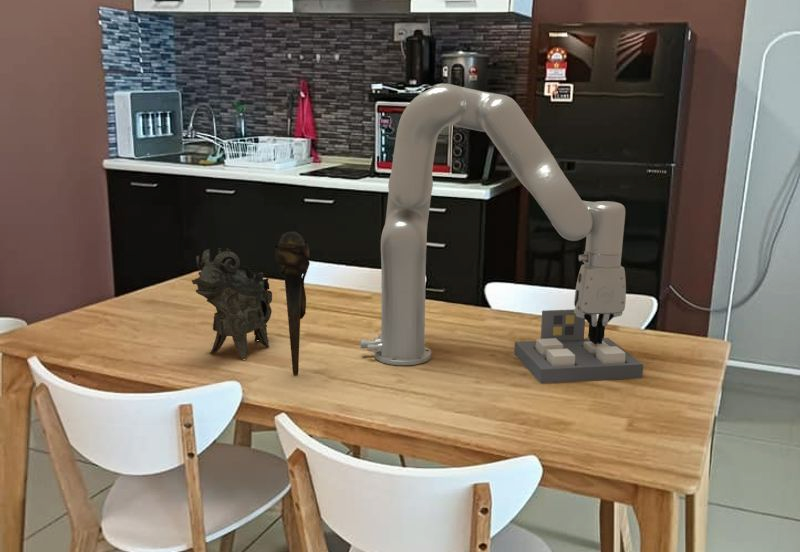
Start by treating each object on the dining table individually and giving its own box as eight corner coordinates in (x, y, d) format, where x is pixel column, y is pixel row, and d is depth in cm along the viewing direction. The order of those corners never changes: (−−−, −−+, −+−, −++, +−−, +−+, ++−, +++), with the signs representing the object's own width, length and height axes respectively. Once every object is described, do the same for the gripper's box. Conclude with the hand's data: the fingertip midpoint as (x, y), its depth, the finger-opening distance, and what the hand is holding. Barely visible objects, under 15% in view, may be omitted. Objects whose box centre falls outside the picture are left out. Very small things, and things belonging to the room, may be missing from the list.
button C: (542, 356, 177) (542, 345, 176) (535, 349, 181) (536, 339, 181) (562, 355, 178) (563, 344, 177) (555, 348, 182) (555, 338, 182)
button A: (553, 367, 170) (554, 356, 170) (546, 360, 175) (546, 349, 174) (574, 366, 171) (575, 355, 170) (566, 359, 175) (567, 348, 175)
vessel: (181, 365, 176) (177, 251, 173) (250, 340, 199) (247, 239, 195) (224, 371, 172) (220, 254, 168) (289, 345, 194) (287, 241, 190)
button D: (590, 359, 179) (591, 348, 179) (583, 352, 183) (583, 341, 183) (610, 358, 180) (611, 347, 179) (602, 351, 184) (603, 341, 184)
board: (540, 383, 169) (541, 369, 168) (514, 354, 186) (514, 341, 185) (642, 377, 172) (643, 364, 172) (606, 350, 190) (607, 337, 189)
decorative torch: (298, 382, 168) (296, 236, 161) (271, 376, 171) (267, 233, 164) (318, 372, 173) (316, 231, 166) (291, 366, 177) (288, 228, 170)
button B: (604, 365, 172) (605, 354, 172) (595, 357, 176) (596, 347, 176) (624, 364, 173) (625, 353, 172) (615, 356, 177) (616, 346, 177)
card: (541, 341, 186) (543, 311, 184) (540, 340, 186) (542, 310, 185) (584, 339, 187) (586, 309, 186) (582, 338, 188) (584, 308, 186)
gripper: (575, 264, 172) (569, 348, 176) (643, 263, 174) (635, 346, 179) (562, 256, 179) (556, 337, 183) (628, 255, 181) (620, 335, 186)
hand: (595, 341), depth 181 cm, fingers closed
